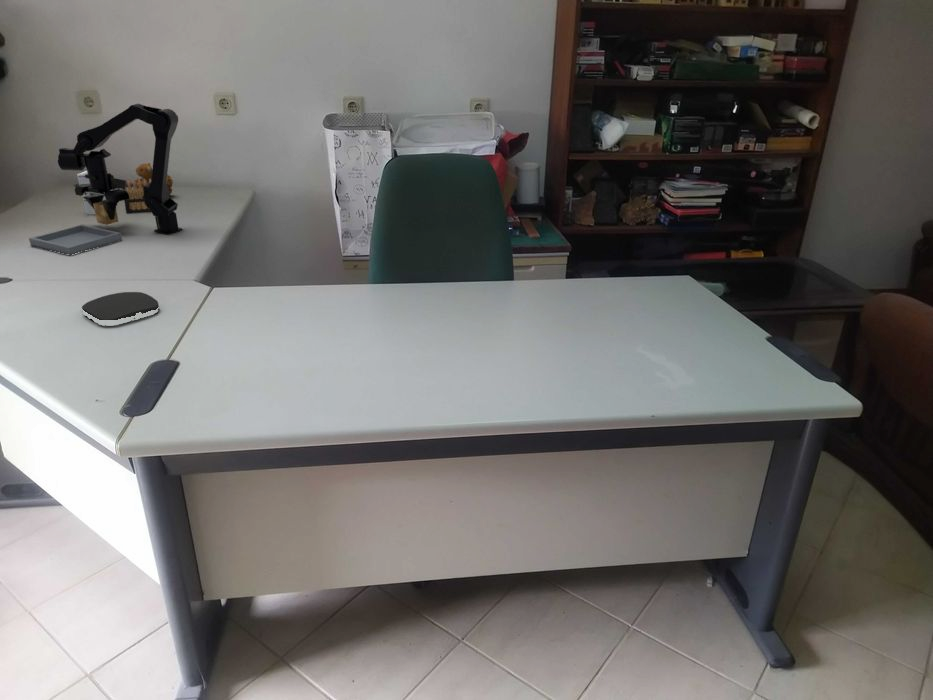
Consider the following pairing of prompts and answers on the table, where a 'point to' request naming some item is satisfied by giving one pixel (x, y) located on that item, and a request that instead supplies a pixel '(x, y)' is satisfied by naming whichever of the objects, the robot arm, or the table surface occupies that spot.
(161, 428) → the table surface
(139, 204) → the ammunition clip
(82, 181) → the syrup box
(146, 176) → the stuffed squirrel
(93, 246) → the tray
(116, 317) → the media streaming box
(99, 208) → the block
